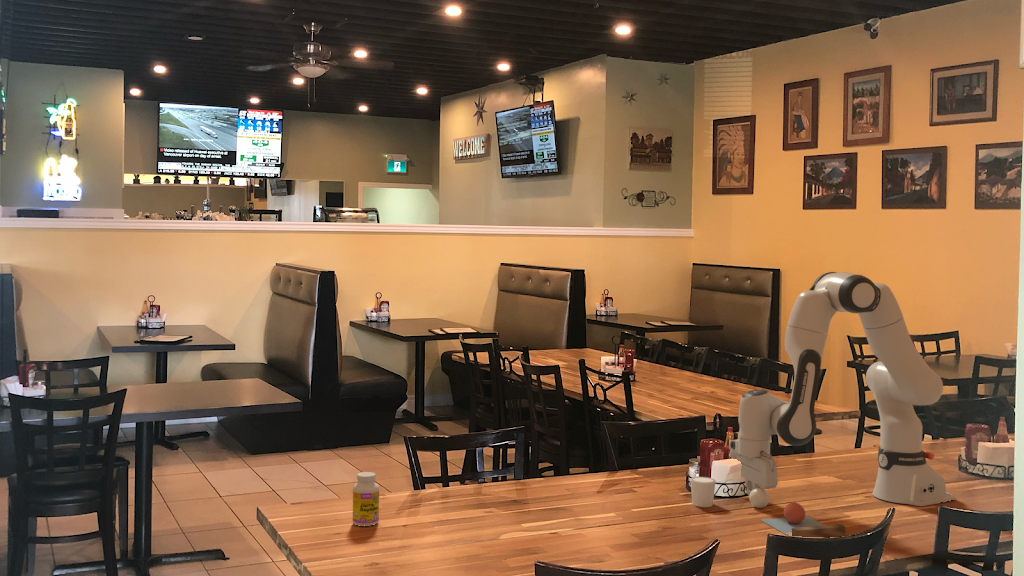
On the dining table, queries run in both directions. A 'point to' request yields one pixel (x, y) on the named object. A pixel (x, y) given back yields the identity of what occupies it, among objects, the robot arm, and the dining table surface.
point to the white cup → (702, 491)
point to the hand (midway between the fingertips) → (752, 496)
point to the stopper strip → (820, 531)
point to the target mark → (790, 524)
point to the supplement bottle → (366, 500)
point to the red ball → (794, 513)
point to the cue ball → (759, 497)
